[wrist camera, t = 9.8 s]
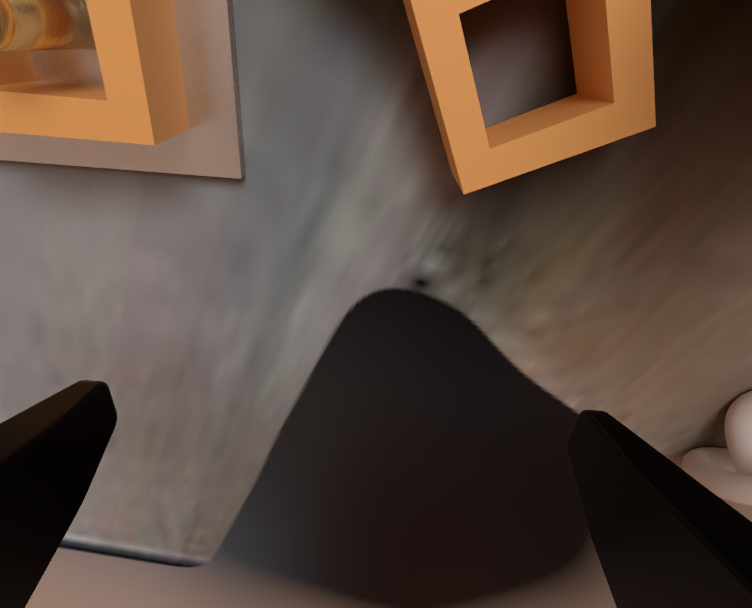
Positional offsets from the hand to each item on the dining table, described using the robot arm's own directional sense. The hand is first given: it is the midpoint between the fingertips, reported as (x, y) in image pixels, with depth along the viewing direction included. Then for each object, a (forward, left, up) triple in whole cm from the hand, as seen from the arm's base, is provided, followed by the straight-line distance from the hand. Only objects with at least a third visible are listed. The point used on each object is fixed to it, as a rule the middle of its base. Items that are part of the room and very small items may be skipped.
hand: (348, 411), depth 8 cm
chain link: (-5, -6, -12) cm, 14 cm away
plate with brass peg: (+10, -6, -12) cm, 17 cm away
